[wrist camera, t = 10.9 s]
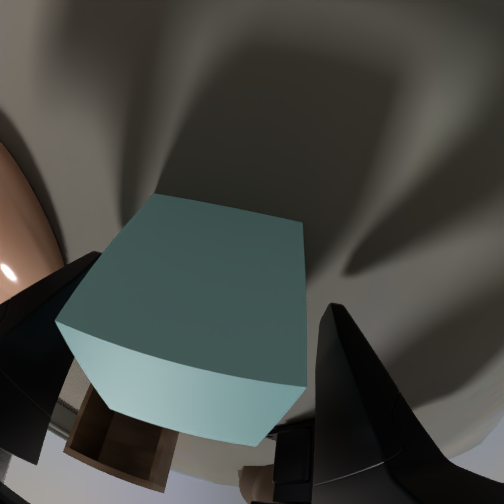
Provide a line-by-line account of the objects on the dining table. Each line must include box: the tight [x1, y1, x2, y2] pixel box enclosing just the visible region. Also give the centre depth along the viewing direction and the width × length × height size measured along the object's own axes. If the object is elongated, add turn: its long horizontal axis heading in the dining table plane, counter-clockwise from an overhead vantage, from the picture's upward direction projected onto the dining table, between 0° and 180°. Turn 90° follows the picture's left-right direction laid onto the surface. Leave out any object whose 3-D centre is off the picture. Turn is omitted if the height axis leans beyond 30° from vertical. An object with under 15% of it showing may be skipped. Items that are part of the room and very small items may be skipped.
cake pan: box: [47, 402, 77, 441], centre depth 33 cm, size 25×25×4 cm
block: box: [55, 193, 307, 446], centre depth 7 cm, size 4×4×5 cm
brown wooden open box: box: [63, 383, 179, 493], centre depth 18 cm, size 7×7×7 cm
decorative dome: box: [238, 465, 285, 504], centre depth 29 cm, size 19×20×10 cm
